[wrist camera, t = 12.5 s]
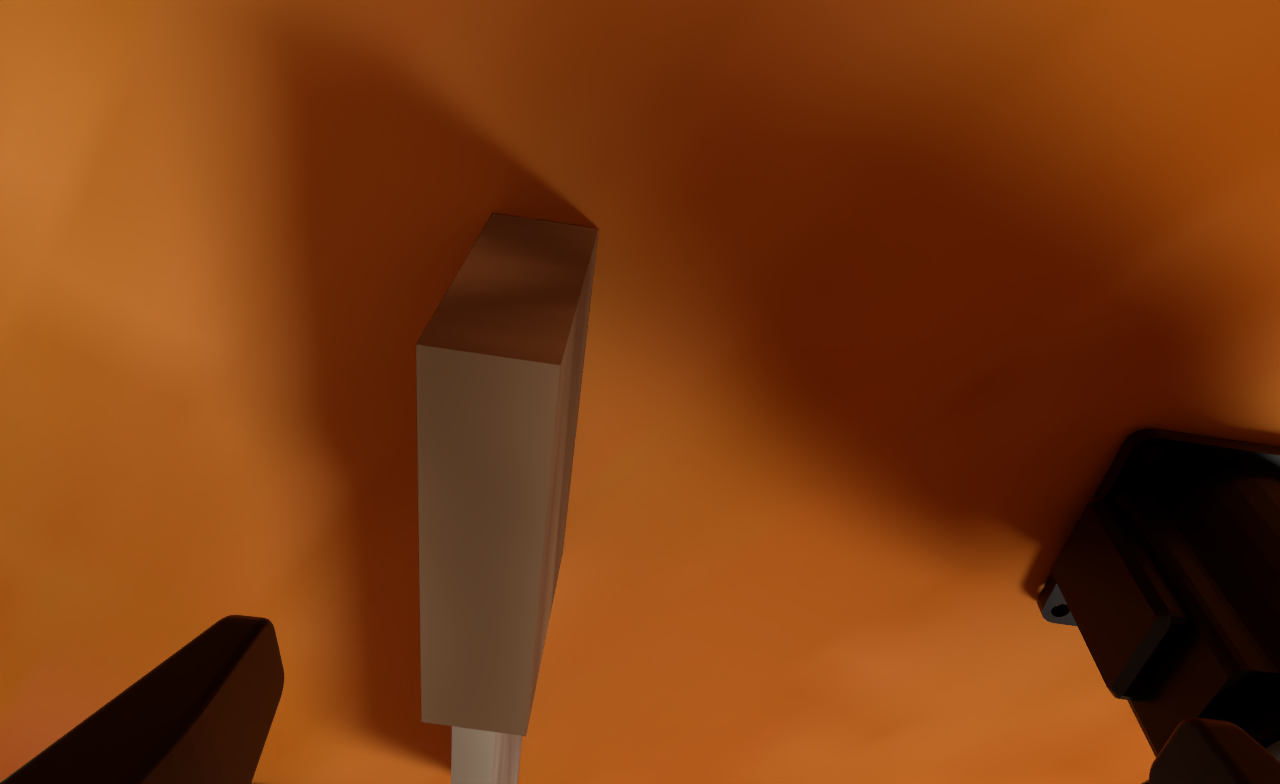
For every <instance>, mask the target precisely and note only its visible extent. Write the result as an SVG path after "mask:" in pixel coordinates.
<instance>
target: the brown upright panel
mask: <svg viewBox="0 0 1280 784" xmlns="http://www.w3.org/2000/svg"><path fill="white" fill-rule="evenodd" d="M597 237H598V229H596V228H590V227H583V226H576V225H569V224H563V223H556V222H549V221H542V220H536V219H529V218H522V217H515V216H509V215H502V214H495V213H492V214H491V216H490V218H489V220H488V221H487V223H486V225H485V226H484V228H483V230H482V232H481V233H480V235H479V237H478V239H477V240H476V242H475V244H474V245H473V247H472V249H471V251H470V252H469V254H468V256H467V258H466V259H465V261H464V263H463V264H462V266H461V268H460V270H459V271H458V273H457V275H456V276H455V278H454V280H453V282H452V283H451V285H450V287H449V289H448V290H447V292H446V294H445V295H444V297H443V299H442V301H441V302H440V304H439V306H438V307H437V309H436V311H435V313H434V314H433V316H432V318H431V320H430V321H429V323H428V325H427V326H426V328H425V330H424V332H423V333H422V335H421V337H420V339H419V340H418V342H417V344H416V378H417V446H418V515H419V584H420V653H421V721H422V722H425V723H432V724H439V725H447V726H452V756H451V784H517V783H518V772H519V761H520V750H521V739H522V736H526V733H527V728H528V723H529V718H530V713H531V708H532V703H533V698H534V693H535V688H536V683H537V678H538V673H539V668H540V663H541V658H542V653H543V648H544V643H545V638H546V633H547V628H548V623H549V618H550V613H551V608H552V603H553V598H554V593H555V588H556V583H557V578H558V573H559V568H560V563H561V558H562V553H563V544H564V535H565V526H566V517H567V508H568V499H569V490H570V481H571V472H572V463H573V454H574V445H575V436H576V427H577V418H578V409H579V400H580V391H581V382H582V373H583V364H584V355H585V346H586V337H587V328H588V319H589V310H590V301H591V291H592V282H593V273H594V264H595V255H596V246H597Z"/></svg>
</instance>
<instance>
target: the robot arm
mask: <svg viewBox="0 0 1280 784" xmlns="http://www.w3.org/2000/svg"><path fill="white" fill-rule="evenodd" d="M1149 446H1154V447H1153V448H1152V449H1151V450H1149V451H1147V452H1145V453H1141V452H1142V451H1143V450H1144V449H1145V448H1147V447H1149ZM1037 604H1038V607H1039V609H1040V611H1041V614H1042V616H1043V618H1044V619H1046V620H1047V621H1049V622H1052V623H1058V624H1065V625H1072V626H1078V628H1079V630H1080V632H1081V634H1082V636H1083V638H1084V640H1085V643H1086V645H1087V647H1088V649H1089V651H1090V653H1091V655H1092V657H1093V659H1094V661H1095V663H1096V665H1097V667H1098V669H1099V671H1100V674H1101V676H1102V678H1103V680H1104V682H1105V684H1106V686H1107V688H1108V689H1109V690H1110V692H1111V693H1112V695H1113V696H1114V697H1115V698H1119V699H1125V700H1128V702H1129V704H1130V706H1131V708H1132V710H1133V712H1134V714H1135V716H1136V718H1137V720H1138V722H1139V724H1140V726H1141V728H1142V730H1143V732H1144V734H1145V736H1146V738H1147V740H1148V742H1149V744H1150V746H1151V748H1152V750H1153V752H1154V754H1155V756H1156V759H1155V760H1154V762H1153V764H1152V766H1151V769H1150V775H1149V780H1147V781H1145V782H1144V783H1142V784H1280V447H1277V446H1270V445H1263V444H1257V443H1250V442H1243V441H1236V440H1229V439H1222V438H1216V437H1209V436H1202V435H1195V434H1188V433H1182V432H1175V431H1168V430H1161V429H1154V428H1145V429H1141V430H1138V431H1136V432H1134V433H1133V434H1131V435H1129V436H1128V438H1127V439H1126V440H1125V441H1124V443H1123V445H1122V446H1121V448H1120V450H1119V452H1118V454H1117V456H1116V457H1115V459H1114V461H1113V463H1112V465H1111V466H1110V468H1109V470H1108V472H1107V474H1106V475H1105V477H1104V479H1103V481H1102V483H1101V485H1100V486H1099V488H1098V490H1097V492H1096V494H1095V495H1094V497H1093V499H1092V501H1091V502H1090V503H1089V504H1088V505H1087V506H1086V508H1085V510H1084V512H1083V513H1082V515H1081V517H1080V519H1079V521H1078V522H1077V524H1076V526H1075V528H1074V530H1073V532H1072V533H1071V535H1070V537H1069V539H1068V541H1067V542H1066V544H1065V546H1064V548H1063V550H1062V552H1061V553H1060V555H1059V557H1058V559H1057V561H1056V563H1055V564H1054V566H1053V568H1052V573H1051V575H1050V577H1049V579H1048V581H1047V582H1046V584H1045V586H1044V588H1043V590H1042V592H1041V593H1040V595H1039V597H1038V600H1037ZM1059 604H1061V605H1059ZM1056 605H1058V606H1056ZM283 685H284V669H283V665H282V660H281V656H280V651H279V647H278V642H277V638H276V633H275V629H274V626H273V624H272V623H271V622H270V621H269V620H268V619H266V618H261V617H252V616H243V615H230V616H227V617H225V618H222V619H221V620H219V621H218V622H216V623H215V624H214V625H212V626H211V627H210V628H208V629H207V630H206V631H204V632H203V633H202V634H200V635H199V636H197V637H196V638H195V639H193V640H192V641H191V642H189V643H188V644H187V645H185V646H184V647H183V648H181V649H180V650H179V651H177V652H176V653H175V654H173V655H172V656H170V657H169V658H168V659H166V660H165V661H164V662H162V663H161V664H160V665H158V666H157V667H156V668H154V669H153V670H152V671H150V672H149V673H148V674H146V675H145V676H144V677H142V678H141V679H139V680H138V681H137V682H135V683H134V684H133V685H131V686H130V687H129V688H127V689H126V690H125V691H123V692H122V693H121V694H119V695H118V696H117V697H115V698H114V699H112V700H111V701H110V702H108V703H107V704H106V705H104V706H103V707H102V708H100V709H99V710H98V711H96V712H95V713H94V714H92V715H91V716H90V717H88V718H87V719H85V720H84V721H83V722H81V723H80V724H79V725H77V726H76V727H75V728H73V729H72V730H71V731H69V732H68V733H67V734H65V735H64V736H63V737H61V738H60V739H58V740H57V741H56V742H54V743H53V744H52V745H50V746H49V747H48V748H46V749H45V750H44V751H42V752H41V753H40V754H38V755H37V756H36V757H34V758H33V759H32V760H30V761H29V762H27V763H26V764H25V765H23V766H22V767H21V768H19V769H18V770H17V771H15V772H14V773H13V774H11V775H10V776H9V777H7V778H6V779H5V780H3V781H2V782H0V784H251V782H252V779H253V776H254V774H255V771H256V768H257V765H258V762H259V759H260V756H261V753H262V750H263V747H264V745H265V742H266V739H267V736H268V733H269V730H270V727H271V724H272V721H273V718H274V716H275V713H276V710H277V707H278V704H279V701H280V698H281V695H282V690H283Z"/></svg>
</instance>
